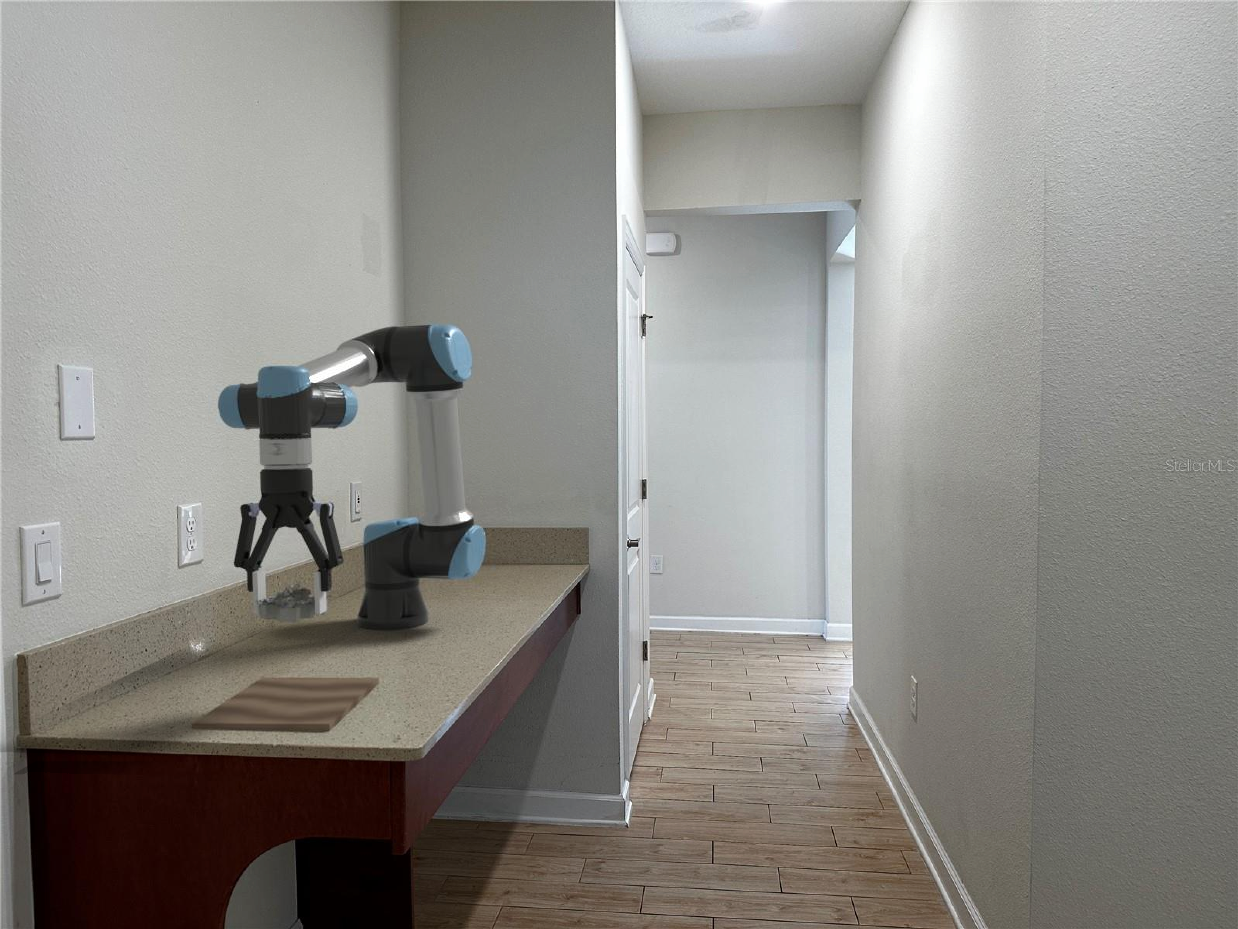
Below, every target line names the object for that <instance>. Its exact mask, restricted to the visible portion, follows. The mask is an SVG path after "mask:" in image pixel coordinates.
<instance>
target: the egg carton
mask: <svg viewBox="0 0 1238 929" xmlns="http://www.w3.org/2000/svg"><path fill="white" fill-rule="evenodd" d="M300 584H301V582H297V583H292V585H291V584H289V585H288V586H286V587H285V588H284V590H283V591H277V593H276V594H274V595H272V596H266V598H265V599H263V600H259V601H257V600H256V601H255V602H257V604H260V614H258V615H259V618H260V619H262V620H265V621H266V620H277V621H278V622H280V623H290V624H291V623H293V624H294V623H295V624H296V623H299V622H300V621H301V619H309V620H310V619H314V618H315V615H316V614H315V596H313V595H312V592H311V589H309V588H308V587H303V586H301V585H300ZM332 597H333V595H332V594H327V593H326V605H327V608H328V603H329V601H328V600H329V599H328V598H332ZM327 613H328V609H327V610H326V611H325V612H323V613H321V614H319V615H322V616H323V615H324V616H325V615H327Z"/></svg>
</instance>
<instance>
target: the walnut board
mask: <svg viewBox="0 0 1238 929" xmlns="http://www.w3.org/2000/svg"><path fill="white" fill-rule="evenodd" d="M378 685H380V678H379V677H261V678H259V679H257V680H256V681H254V682H252V684H250V685H248V686H247V687H245V688H244V689H243V690H241V691H239V692H238V693H236V694H234V695H233V696H232V697H230V698H229V699H227V700H226V701H224V702H223V703H221V704H219V705H218V706H216V707H214V708H213V709H212V710H210V711H209V712H207V713H206V714H204V715H203V716H201V717H200V718H198V719H196V720H194V722H192V723H191V725H192V726H191V729H217V730H218V729H222V730H223V729H224V730H226V729H227V730H262V731H263V730H264V731H265V730H267V731H268V730H269V731H273V730H274V731H307V732H309V731H310V732H311V731H315V732H316V731H317V732H318V731H319V732H321V731H322V732H323V731H324V732H330V731H331V730H333V729H334V728H335V726H337V725H338V724H339V723H340V722H341V721H342V720H343V719H344V718H346V716H347V715H348V714H349V713H351V711H353V710H354V709H355V708H356V707H357V705H359V703H361V702H362V701H363V700H364V699H365V698H366V697H367V696H368V695H369V694H370V693H371V692H372V691H374V689H375V688H376V687H377V686H378Z"/></svg>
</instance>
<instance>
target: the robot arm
mask: <svg viewBox="0 0 1238 929" xmlns="http://www.w3.org/2000/svg"><path fill="white" fill-rule="evenodd" d="M472 368H473V357H472V351H471V347H470V344H469V341H468V340H467V337H466V336H465V334H464V333H463V332H462V330H461V329H459V328H458V327H457V326H454V325H452V324H437V323H432V324H424V325H423V324H420V325H403V326H402V325H401V326H395V325H393V326H388V327H387V326H385V327H383V328H382V327H381V328H378V329H374V330H372V331H369V332H367V333H363V334H361V335H359V336H356V337H354V338H351V339H349V340H346V341H343V342H342V343H341V344H340V345H338V346H337V349H336V350H335V351H333V352H330V353H328V354H325V355H322V356H319V357H317V358H315V359H312V360H310V361H307V362H305V363H303V364H300V365H269V366H268V365H266V366H263V367H262V368H260V369H259V371H258V373H257V381H256V382H253V383H242V382H241V383H238V384H230V385H227V386H226V387H225V388H223V390H222V391H221V392H220V394H219V396H218V401H217V409H218V413H219V416H220V419H221V420H222V422H224V424H225V425H226V426H228V427H230V428H232V429H245V430H246V431H249V430H252V429H253V430H254V429H255V430H256V429H258V430H259V433H258V439H259V440H258V441H259V443H258V444H259V465H261V466H263V468H262V469H261V471H260V472H259V478H260V479H259V481H260V482H259V483H260V485H259V486H260V494H261V497H260V500H259V501H258V502H255V503H254V502H248V503H242V504H241V505H240V507H239V509H240V515H241V524H240V527H239V528H240V530H239V534H238V538H237V544H236V550H235V555H234V560H233V566H234V567H235V568H241V569H243V570H245V571H246V579H247V580H246V584H247V586H246V587H247V591H248V593H252V598H253V599H252V600H253V603H252V604H253V615H259V614H260V604H257V602H255V601H256V600H257V601H259V600H263V599H265V598H267V587H266V586H267V583H266V568H264V569H263V568H262V566H263V565H262V563H263V561H264V559H265V557H266V554H267V552H268V551H269V548H270V546H271V543H272V541H273V540H274V537H275V535H276V533H277V532H278V530H279V529H282V528H285V527H286V528H289V529H296V531H297V532H298V533H299V534H300V535H301V537H302V540H303V541H304V543H305V545H306V546H307V549H308V551H309V552H310V554H311V556H312V558H313V560H314V562H315V564H316V566H317V568H318V569H317V570H316V571H314V572H313V580H314V581H313V582H314V585H313V586H314V591H313V592H314V597H315V615H320V614H321V613H323V612H325V611H326V610H327V611H328V607H327V605H326V594H327V592H329V591H331V590H332V587H333V584H332V582H333V581H332V570H333V569H334V568H336V567H338V566H341V565H343V564H344V556H343V552H342V548H341V543H340V541H339V536H338V532H337V527H336V525H335V520H334V512H335V511H334V509H335V504H334V502H330V501H329V502H317V501H316V499H315V498H314V495H313V492H314V481H313V469H312V468H311V467H309V465H312V463H313V448H312V447H313V446H312V429H328V430H329V429H339V428H343V427H347V426H348V425H350V424H351V423H352V422H353V421H354V420H355V418H356V416H357V414H358V410H359V409H358V408H359V407H358V406H359V404H358V398H357V395H356V393H355V392H354V391H353V390H352V389H351V388H352V387H356V388H357V387H359V388H362V387H366V386H368V385H370V384H378V383H380V384H381V383H405V389H406V391H405V392H406V393H407V395H409V396H410V397H411V398H413V400H414V405H415V417H416V429H417V439H418V448H419V449H418V450H419V461H420V462H419V464H420V473H421V482H422V483H421V486H422V497H423V507H424V511H423V513H422V515H421V516H420V517H419V518H418V517H416V516H413V517H411V516H410V517H403V518H394V519H389V520H383V521H378V522H377V521H376V522H373V523H369V524H367V525H366V526H365V528H364V531H363V543H362V547H363V569H364V570H363V571H364V574H363V575H364V593H363V597H362V599H361V603H360V606H359V610H358V613H357V617H356V621H357V622H356V623H357V626H358V627H359V628H361V629H365V630H368V631H369V630H370V631H400V630H401V631H402V630H408V629H414V628H418V627H422V626H424V625H426V624H428V622H429V611H428V608H427V605H426V602H425V600H424V596H423V594H422V591H421V588H420V579H432V580H433V579H435V580H450V581H456V580H459V581H460V580H469V579H472V578H473V577H474V576H475V575H476V574H477V573H478V572H479V570H480V568H481V566H482V563H483V561H484V558H485V554H486V547H487V545H486V544H487V538H486V532H485V530H484V528H483V527H482V526H480V525H478V524H475V522H474V514H473V513H472V512H471V511H470V510H469V509H467V507H466V496H465V487H464V486H465V485H464V472H463V471H464V470H463V461H462V460H463V459H462V448H461V446H462V444H461V434H460V421H459V413H458V412H459V410H458V400H457V398H458V396H459V395H460V393H462V392H463V390H464V382H465V381H467V380H469V378H470V377H471V374H472ZM260 511H261V513H262V514H263V516H264V517H265V520H264V523H263V525H262V528H261V532H260V534H259V536H258V538H257V541H256V543H255V545H254V547H253V548H252V546H253V541H254V537H255V536H254V535H255V530H256V525H257V520H258V518H257V517H258V516H260V515H259V514H260ZM314 511H315V513H316V515H317V517H319V524H320V528H321V532H322V536H323V537H322V538H323V541H324V545H325V547H324V546H323V543H322V541H321V540H320V538H319V536H318V534H317V532H316V530H315V525H314V523H313V521H312V520H311V519H312V518H311V517H310V516H311V514H312V513H313V512H314ZM325 548H326V550H325ZM251 551H252V552H251Z"/></svg>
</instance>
